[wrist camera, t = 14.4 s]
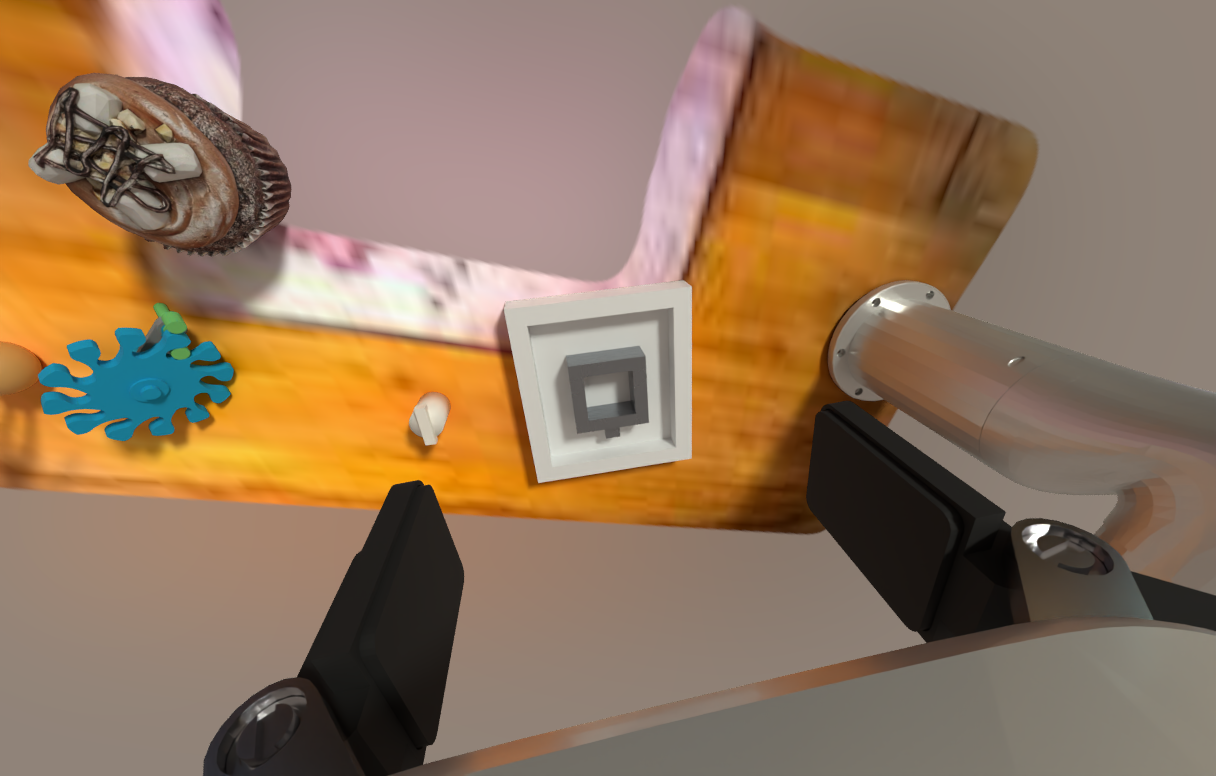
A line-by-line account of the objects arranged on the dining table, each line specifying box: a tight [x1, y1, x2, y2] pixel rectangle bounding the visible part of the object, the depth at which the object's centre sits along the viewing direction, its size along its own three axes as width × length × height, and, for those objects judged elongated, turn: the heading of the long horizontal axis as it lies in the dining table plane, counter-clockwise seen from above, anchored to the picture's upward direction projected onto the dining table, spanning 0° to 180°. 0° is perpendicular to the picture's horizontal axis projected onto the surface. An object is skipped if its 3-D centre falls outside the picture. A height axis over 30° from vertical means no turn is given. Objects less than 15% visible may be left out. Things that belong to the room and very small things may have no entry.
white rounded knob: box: [409, 392, 451, 445], centre depth 38 cm, size 3×4×4 cm
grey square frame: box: [566, 346, 649, 439], centre depth 40 cm, size 7×8×3 cm
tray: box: [504, 280, 692, 483], centre depth 41 cm, size 16×18×2 cm
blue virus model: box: [38, 303, 234, 441], centre depth 33 cm, size 11×6×10 cm
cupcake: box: [29, 73, 291, 257], centre depth 26 cm, size 10×10×10 cm
